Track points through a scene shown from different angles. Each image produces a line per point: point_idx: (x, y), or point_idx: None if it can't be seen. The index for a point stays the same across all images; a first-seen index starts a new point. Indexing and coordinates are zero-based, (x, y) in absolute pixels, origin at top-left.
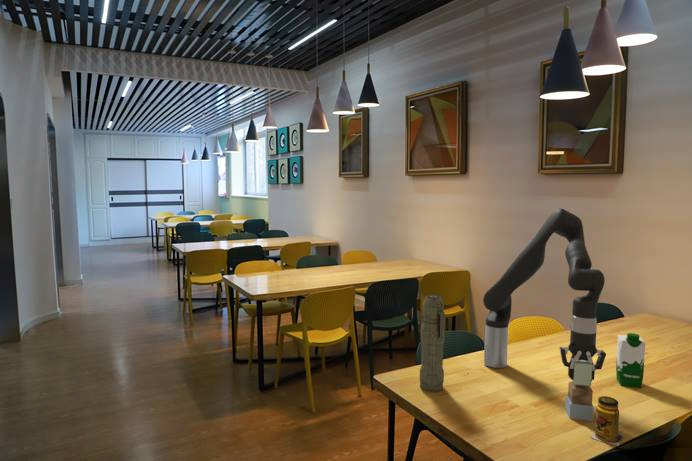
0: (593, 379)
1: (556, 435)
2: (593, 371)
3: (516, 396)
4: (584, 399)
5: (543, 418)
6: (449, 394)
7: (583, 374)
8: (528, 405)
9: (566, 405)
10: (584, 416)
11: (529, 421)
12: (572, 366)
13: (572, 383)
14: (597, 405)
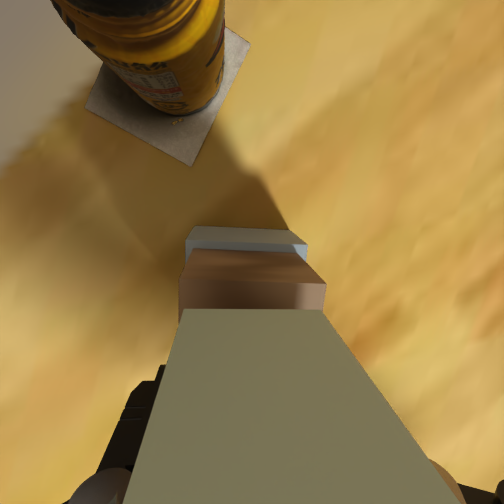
0: (142, 384)
1: (398, 42)
2: (114, 468)
3: (438, 374)
4: (234, 259)
5: (399, 204)
6: None
7: (265, 376)
8: (419, 309)
9: None
10: (230, 229)
11: (467, 162)
12: None
13: None
14: (206, 16)
